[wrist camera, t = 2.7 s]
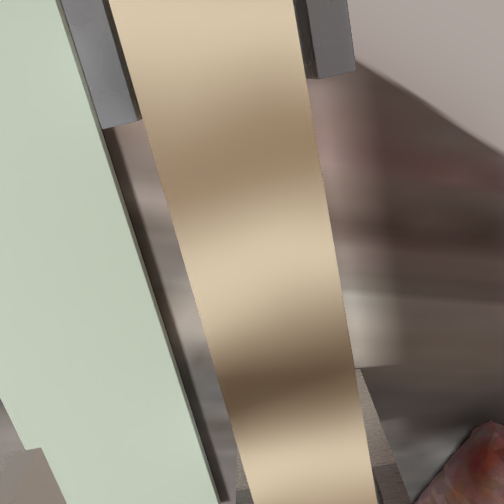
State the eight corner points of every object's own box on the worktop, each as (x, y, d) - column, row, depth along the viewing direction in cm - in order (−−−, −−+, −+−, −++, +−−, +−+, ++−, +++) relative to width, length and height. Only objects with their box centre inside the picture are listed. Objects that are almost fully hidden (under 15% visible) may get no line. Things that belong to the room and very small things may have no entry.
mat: (-190, -18, 20) (-203, -21, 20) (34, -78, 19) (29, -82, 19) (71, 528, 31) (67, 536, 30) (220, 502, 30) (220, 510, 30)
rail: (109, -110, 13) (55, -183, 9) (251, -147, 13) (252, -238, 9) (295, 579, 23) (304, 678, 19) (378, 565, 23) (404, 663, 19)
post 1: (135, 12, 21) (49, -35, 12) (294, -27, 20) (333, -108, 11) (161, 107, 22) (102, 129, 13) (311, 72, 21) (356, 70, 13)
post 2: (238, 391, 27) (234, 543, 19) (359, 368, 27) (415, 513, 18) (253, 445, 29) (256, 611, 20) (369, 424, 28) (425, 584, 19)
